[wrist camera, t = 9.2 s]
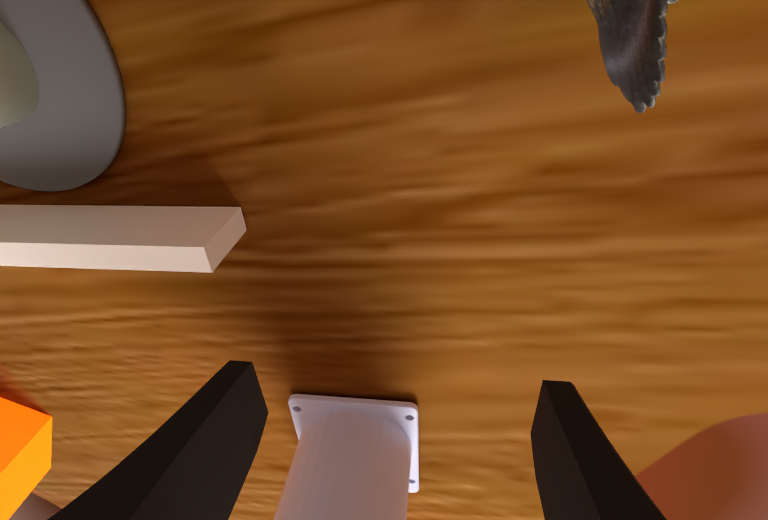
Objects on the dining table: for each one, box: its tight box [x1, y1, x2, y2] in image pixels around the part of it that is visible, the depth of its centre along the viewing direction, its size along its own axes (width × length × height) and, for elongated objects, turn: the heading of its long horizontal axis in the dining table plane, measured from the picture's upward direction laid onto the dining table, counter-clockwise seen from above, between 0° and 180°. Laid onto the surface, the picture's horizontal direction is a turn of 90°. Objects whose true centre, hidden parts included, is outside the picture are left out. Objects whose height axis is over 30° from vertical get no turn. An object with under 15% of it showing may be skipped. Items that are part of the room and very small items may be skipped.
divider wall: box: [0, 205, 247, 273], centre depth 19 cm, size 1×18×4 cm, turn 93°
